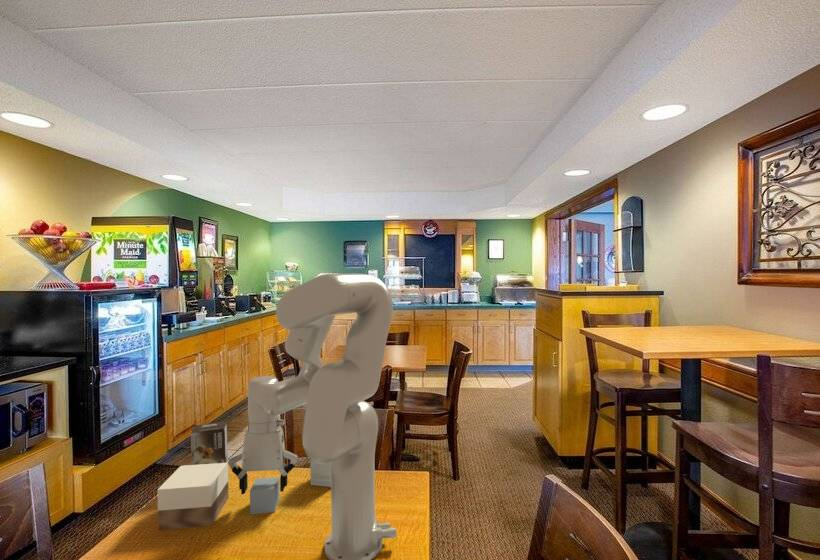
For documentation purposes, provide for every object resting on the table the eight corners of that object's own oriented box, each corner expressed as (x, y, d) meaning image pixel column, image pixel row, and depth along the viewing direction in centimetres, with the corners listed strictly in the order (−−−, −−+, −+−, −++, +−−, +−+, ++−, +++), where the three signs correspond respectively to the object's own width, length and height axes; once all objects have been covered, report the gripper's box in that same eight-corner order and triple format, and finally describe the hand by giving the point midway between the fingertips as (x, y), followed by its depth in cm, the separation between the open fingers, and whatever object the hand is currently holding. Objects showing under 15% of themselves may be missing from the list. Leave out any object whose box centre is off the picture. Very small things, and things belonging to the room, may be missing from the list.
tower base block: (228, 498, 107) (228, 480, 107) (212, 526, 95) (212, 505, 95) (181, 502, 105) (181, 484, 105) (159, 531, 93) (158, 510, 93)
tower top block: (228, 481, 107) (227, 462, 107) (211, 506, 95) (210, 485, 95) (181, 484, 105) (180, 465, 105) (157, 510, 93) (157, 489, 93)
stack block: (279, 499, 106) (279, 477, 106) (274, 512, 100) (274, 488, 100) (256, 501, 105) (255, 478, 105) (250, 514, 99) (249, 490, 99)
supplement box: (334, 487, 111) (333, 443, 111) (309, 485, 113) (309, 441, 113) (343, 474, 118) (343, 433, 118) (320, 472, 120) (320, 431, 120)
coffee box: (229, 473, 120) (228, 420, 120) (226, 483, 114) (225, 428, 114) (195, 478, 117) (194, 424, 117) (191, 489, 111) (190, 432, 111)
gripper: (299, 418, 107) (299, 480, 108) (233, 421, 105) (233, 484, 105) (295, 429, 100) (295, 495, 100) (223, 432, 98) (224, 500, 98)
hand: (263, 490), depth 103 cm, fingers open, 9 cm apart
